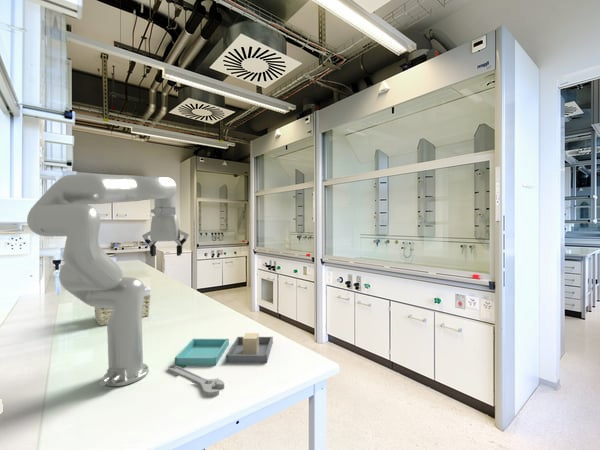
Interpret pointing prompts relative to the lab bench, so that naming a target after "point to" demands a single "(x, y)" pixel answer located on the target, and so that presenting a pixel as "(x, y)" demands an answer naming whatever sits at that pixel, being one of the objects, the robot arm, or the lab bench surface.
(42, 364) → the lab bench surface
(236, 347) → the charcoal bin
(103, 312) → the storage basket
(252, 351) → the sandstone block
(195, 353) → the teal bin
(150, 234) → the robot arm
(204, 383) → the adjustable wrench
